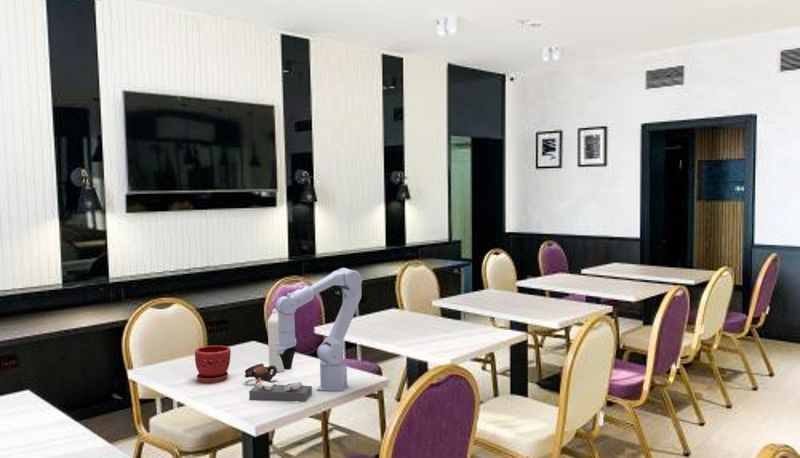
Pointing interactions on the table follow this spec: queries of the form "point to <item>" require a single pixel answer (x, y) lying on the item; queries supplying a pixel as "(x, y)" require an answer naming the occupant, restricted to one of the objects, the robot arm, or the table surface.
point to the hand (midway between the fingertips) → (287, 369)
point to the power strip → (281, 393)
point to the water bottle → (274, 342)
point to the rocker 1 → (265, 385)
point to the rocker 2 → (292, 386)
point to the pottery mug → (261, 372)
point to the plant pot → (212, 363)
